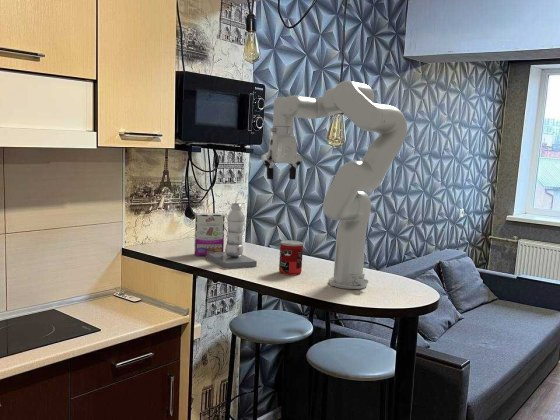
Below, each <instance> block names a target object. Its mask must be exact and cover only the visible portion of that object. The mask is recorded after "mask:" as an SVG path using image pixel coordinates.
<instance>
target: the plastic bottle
mask: <svg viewBox="0 0 560 420" xmlns="http://www.w3.org/2000/svg"><path fill="white" fill-rule="evenodd" d="M230 209H231V210H230V212H229V213H228V215H227V218H226V221H227V222H226V223H227V239H226V244H225V249H224V250H225V251H224V252H226V255H227V256H230V257H239V256H241V255H243V252H244V247H243V246H244V245H243V233H244V230H243V229H244V224H245V215H244V212H243V211H242V203H238V202H236V203H232V202H231V206H230Z"/></svg>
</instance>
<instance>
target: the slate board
mask: <svg viewBox="0 0 560 420" xmlns="http://www.w3.org/2000/svg"><path fill="white" fill-rule="evenodd" d="M206 259H207V260H210V261H211V262H213V263H214V264H217V265H219V266H220V265H221V267H222V266H223V268H225V269H229V270H230V269H240V268H243V267H244V268H254V267H258V265H257V264H258V261H257V260H255V259H253V258H251V257H249V256H246V255H244V254H242V255H241V256H239V257H230V256H227V255H226V252H225V251H223V252H214V253H207V256H206Z"/></svg>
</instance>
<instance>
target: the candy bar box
mask: <svg viewBox="0 0 560 420" xmlns="http://www.w3.org/2000/svg"><path fill="white" fill-rule="evenodd" d="M194 215H195V217H194V219H195V220H194V223H195V224H194V256H195V257H207V253H214V252H224V250H225V249H224V247H225V246H224V245H225V243H224V242H225V214H224V213H219V212H218V213H213V212H210V213H208V212H207V213H205V212H200V213H199V212H195V214H194Z"/></svg>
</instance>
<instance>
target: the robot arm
mask: <svg viewBox="0 0 560 420" xmlns="http://www.w3.org/2000/svg"><path fill="white" fill-rule="evenodd" d="M374 101H375V93H374V89H372V87H370V86H369V85H367V84H365V83H362V82H357V81H353V80H352V81H351V80H343V81H341V82H339V83H337V84H336V86H335V87H331V88H328V89H326V90H325V92H324V93H323V95H322V96H317V97H311V96H304V95H297V94H296V95H294V94H293V95H288V96H278V97H275V98H274V99H273V114H272V115H273V116H272V117H273V118H272V128H271V127H270V129H269V131H270V133H272V134H271V136H270V139H269V144H268V151H266V152H265V153H263V154H262V155H260V158H261V161H262V164H263V165H264V166H265V168H266V179H267V180H274V168H273V167H274V165H275V164H288V165H289V167H290V168H289V175H288V178H289V180H296V177H297V169H298V167H299V166H300V164H301V162H302V160H303V156H302V155H300V154H298V147H297V145H298V144H297V138H296V136H294V130H295V129H294V128H295V127H294V124H295V123H294V122H295V118H301V119H309V120H313V119H315V120H316V119H323V118H328V117H331V116H334V115H339V114H344V116H346V118H348V119H349V120H350V121H351V122H352V123H353V124H354V126H356V127H357V128H358V129H360V130H362V131H364V132H371V133H379V134H378V136H377V137H376V138H375V139H374V140H372V142H371V143H370V145H369V146H368V148H367V151H366V152H365V154H364V156H363V157H362V159H360V160H350V161H347V162H346V163H344V164H342V165H341V166H340V168H339V169H338V170H337V173H336V174H335V176H334V178H333V180H332V181H331V183H330V185H329V188H328V190H327V191H326V193H325V195H324V198H323V203H322V209H323V213H324V215H325V216H326V217H327V218H328V219H330V220H331V221H332V220H333V221H339V223H338V226H337V230H336V238H335V239H336V241H335V252H334V253H335V255H334V264H333V265H334V267H333V276H332V277H330V278H328V284H329V285H330V286H332V287H336V288H339V289H345V290H346V289H347V290H361V289H365V288H366V287H367V286H368V284H369V279H366V278H365V276H366V274H365V273H364V264H365V252H366V239H367V238H366V237H367V229H368V223H369V218H370V215H371V211H372V210H371V209H372V200H371V198H370V196H369V195H368V193H366V192H371V191H375V190H376V189H378V187H379V186H380V185H381V183H382V181H383V180H384V178H385V176H386V174H387V172H388V170H389V169H390V166H391V165H392V163H393V161H394V159H395V157H396V156H397V154H398V153H399V151H400V149H401V147H402V146H403V143H404V142H405V140H406V137H407V133H408V123H407V120H406V117H405V115H404V113H403V112H402V111H401V110H400V109H398V107H395V106H393V105H389V104H382V103H381V104H380V103H374ZM267 159H268V160H267Z"/></svg>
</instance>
